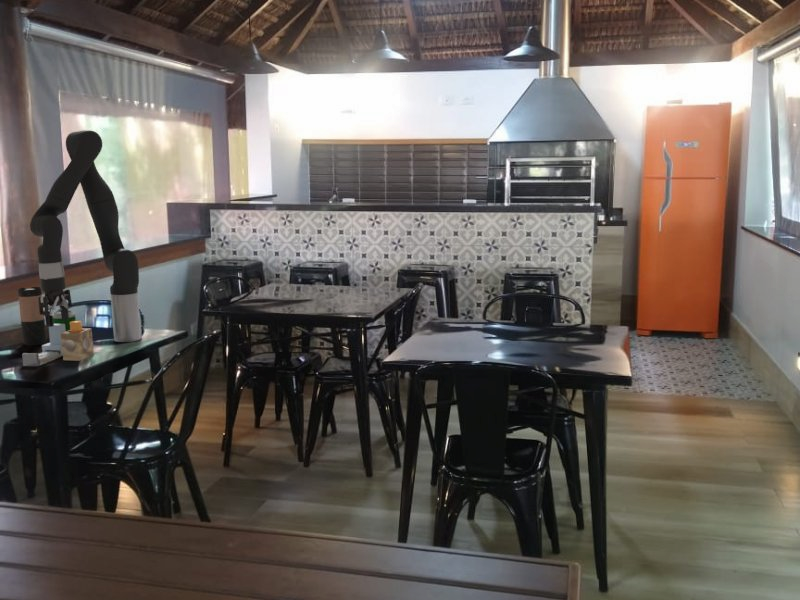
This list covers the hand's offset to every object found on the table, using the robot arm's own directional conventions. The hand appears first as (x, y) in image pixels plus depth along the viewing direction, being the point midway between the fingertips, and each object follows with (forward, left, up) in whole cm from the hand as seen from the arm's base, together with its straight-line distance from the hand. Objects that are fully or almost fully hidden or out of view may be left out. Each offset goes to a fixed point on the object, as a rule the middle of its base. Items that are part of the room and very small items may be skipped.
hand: (58, 323), depth 253 cm
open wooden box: (+3, +9, -11) cm, 14 cm away
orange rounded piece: (+3, +9, -4) cm, 10 cm away
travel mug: (-14, -19, -11) cm, 26 cm away
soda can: (-13, -6, -11) cm, 18 cm away
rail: (+4, 0, -11) cm, 11 cm away
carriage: (0, 0, -11) cm, 11 cm away
